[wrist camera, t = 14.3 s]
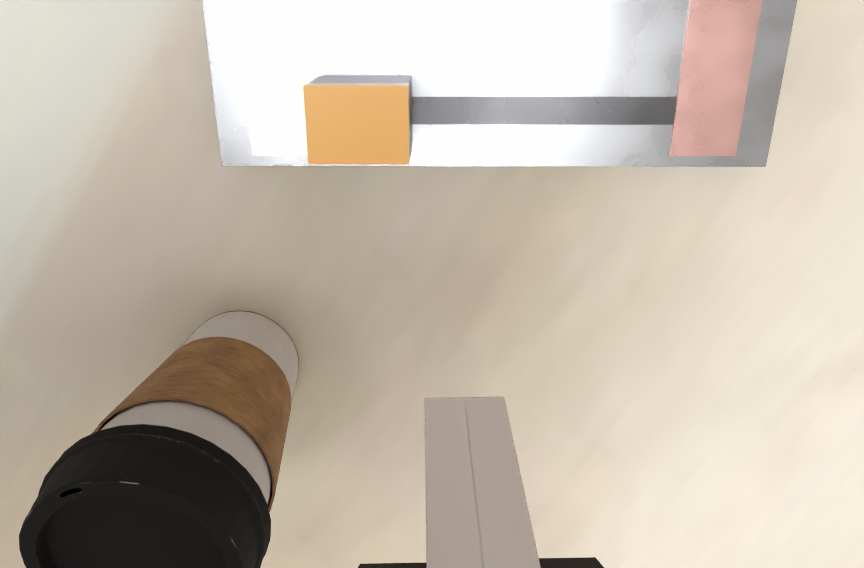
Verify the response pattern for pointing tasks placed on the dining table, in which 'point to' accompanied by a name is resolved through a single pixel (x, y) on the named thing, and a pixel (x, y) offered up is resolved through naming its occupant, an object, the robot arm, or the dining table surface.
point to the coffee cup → (177, 461)
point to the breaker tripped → (358, 120)
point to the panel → (512, 77)
